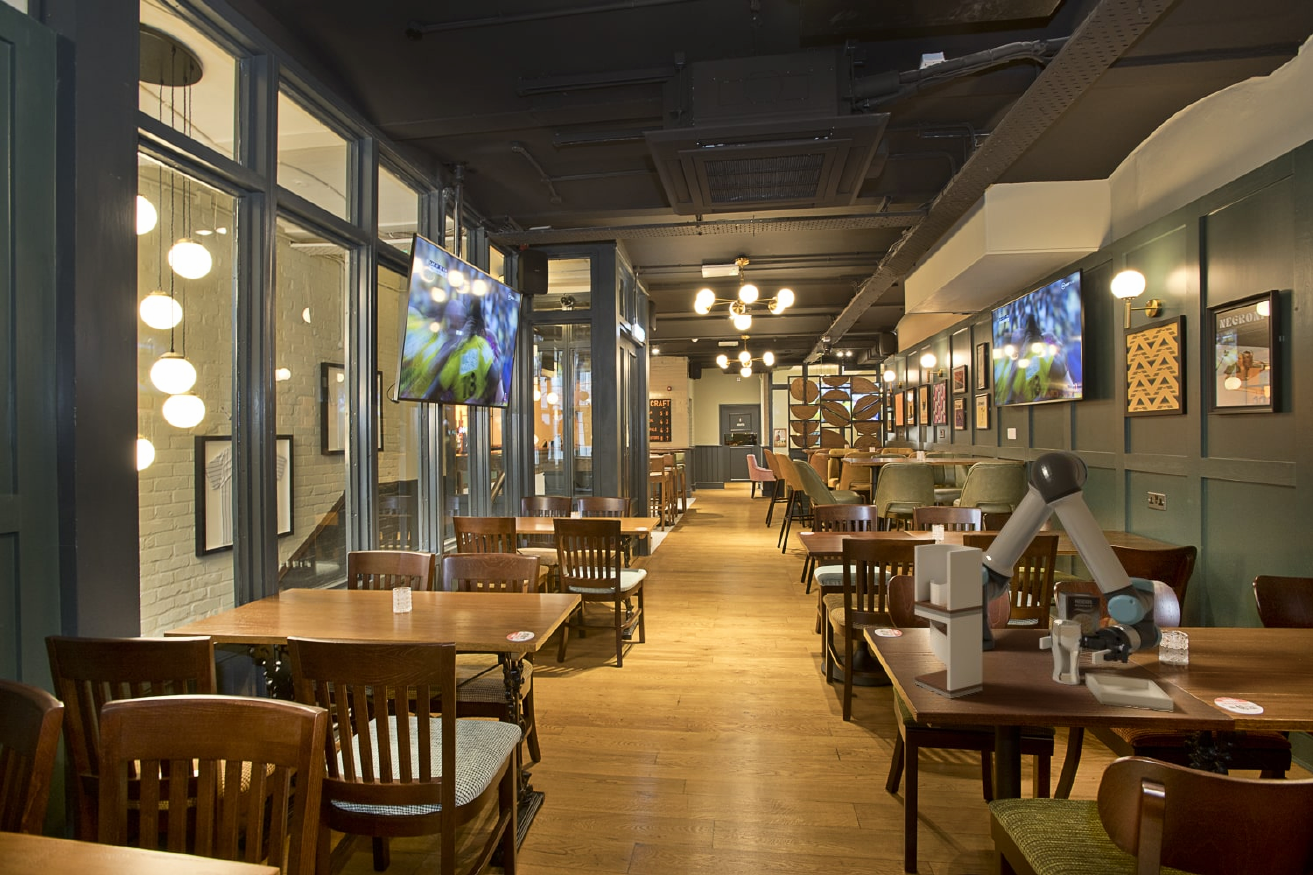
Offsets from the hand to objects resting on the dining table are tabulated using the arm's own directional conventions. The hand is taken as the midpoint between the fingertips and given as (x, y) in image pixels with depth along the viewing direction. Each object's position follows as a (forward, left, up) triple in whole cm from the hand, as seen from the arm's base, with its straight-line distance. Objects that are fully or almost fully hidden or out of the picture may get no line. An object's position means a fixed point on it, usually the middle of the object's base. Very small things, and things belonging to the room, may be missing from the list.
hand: (1066, 650), depth 171 cm
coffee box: (+10, +34, -8) cm, 36 cm away
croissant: (+26, +51, -8) cm, 58 cm away
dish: (+11, -7, -8) cm, 15 cm away
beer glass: (0, +1, -8) cm, 8 cm away
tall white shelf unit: (-29, -15, -8) cm, 33 cm away
